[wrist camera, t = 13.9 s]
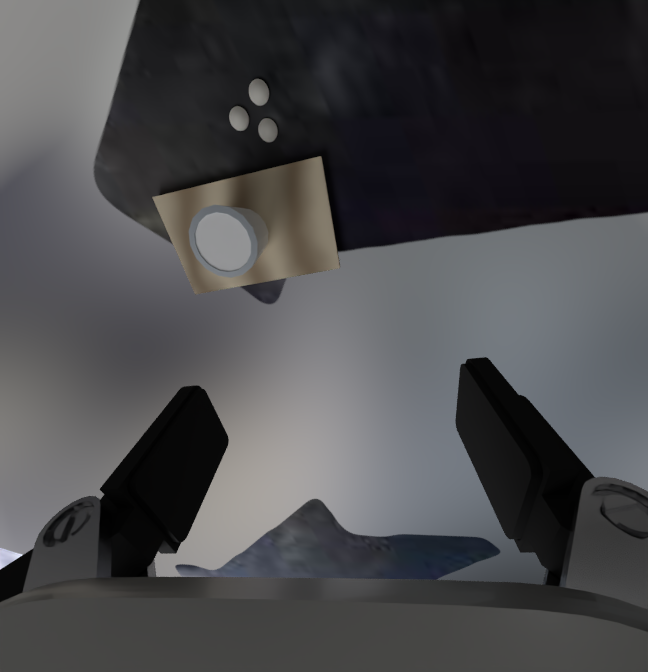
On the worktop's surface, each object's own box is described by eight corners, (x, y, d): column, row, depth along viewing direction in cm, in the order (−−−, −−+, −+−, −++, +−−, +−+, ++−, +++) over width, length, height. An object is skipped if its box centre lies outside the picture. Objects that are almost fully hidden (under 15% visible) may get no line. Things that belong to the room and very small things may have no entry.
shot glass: (252, 273, 35) (233, 291, 29) (206, 235, 33) (175, 245, 27) (285, 231, 32) (271, 241, 26) (237, 187, 30) (210, 186, 24)
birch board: (321, 157, 29) (320, 156, 28) (340, 265, 35) (339, 268, 34) (158, 197, 32) (152, 197, 31) (199, 291, 38) (195, 294, 37)
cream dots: (265, 77, 26) (265, 76, 26) (279, 139, 29) (279, 139, 29) (221, 90, 27) (220, 89, 27) (238, 150, 29) (238, 150, 29)
